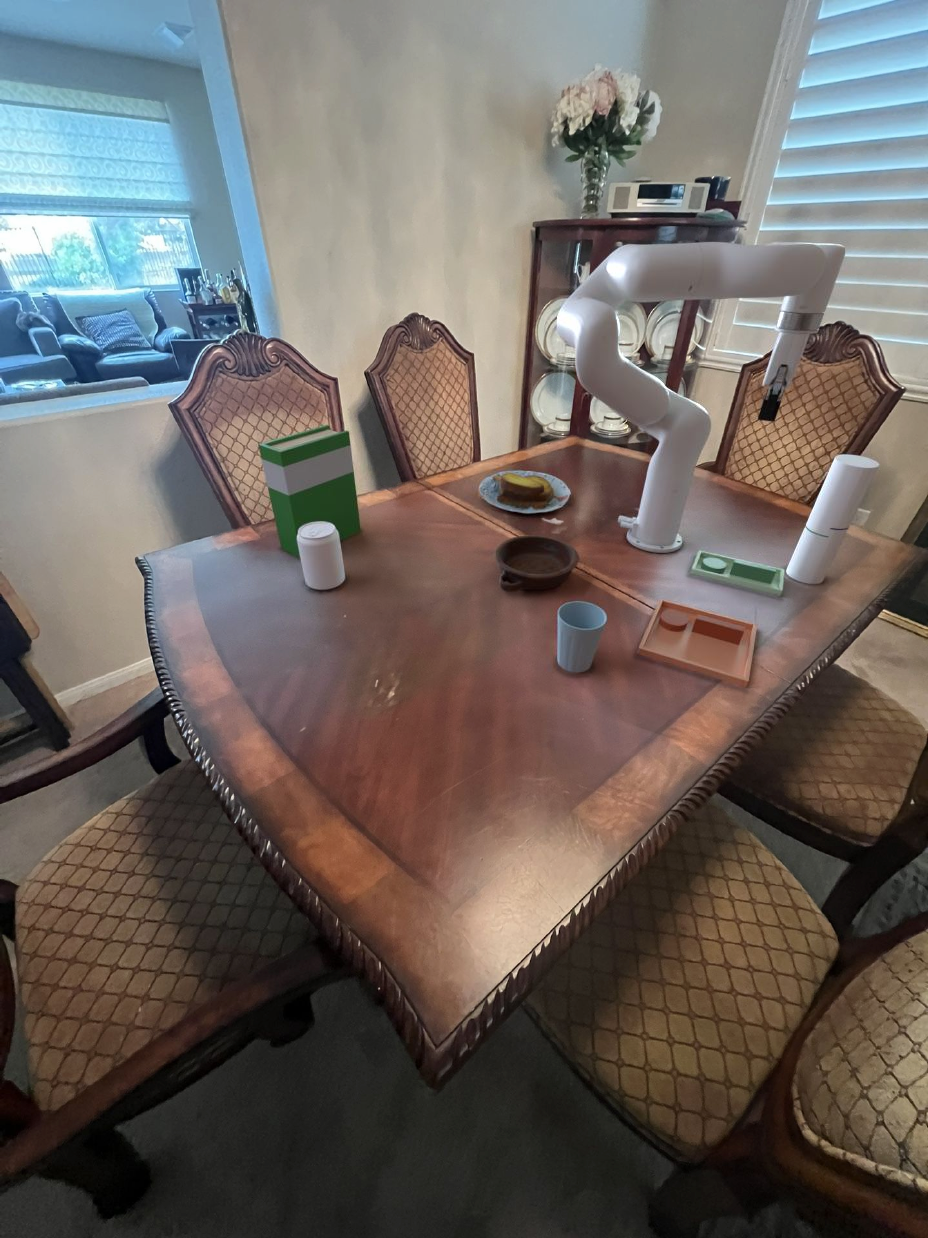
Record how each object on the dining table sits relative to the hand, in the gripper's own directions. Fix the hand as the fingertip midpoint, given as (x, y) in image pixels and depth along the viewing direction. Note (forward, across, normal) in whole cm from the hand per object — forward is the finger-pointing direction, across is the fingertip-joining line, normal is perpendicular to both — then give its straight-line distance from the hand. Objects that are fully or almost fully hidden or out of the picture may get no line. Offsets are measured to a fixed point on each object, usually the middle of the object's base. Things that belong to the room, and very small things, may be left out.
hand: (767, 414), depth 112 cm
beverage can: (+28, +64, -71) cm, 100 cm away
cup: (+28, +64, -17) cm, 72 cm away
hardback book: (+28, +51, -84) cm, 102 cm away
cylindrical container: (+28, +12, +17) cm, 35 cm away
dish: (+28, +40, -34) cm, 60 cm away
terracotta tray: (+28, +48, +1) cm, 56 cm away
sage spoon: (+28, +20, +5) cm, 34 cm away
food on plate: (+28, +4, -52) cm, 59 cm away
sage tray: (+28, +20, +4) cm, 35 cm away
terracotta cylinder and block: (+28, +45, +1) cm, 53 cm away
